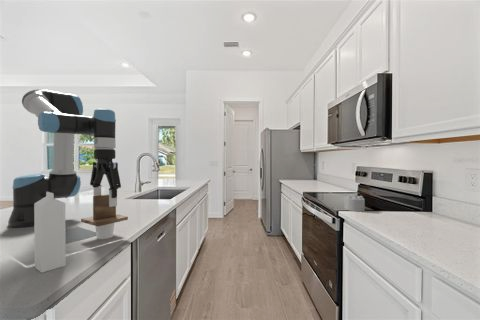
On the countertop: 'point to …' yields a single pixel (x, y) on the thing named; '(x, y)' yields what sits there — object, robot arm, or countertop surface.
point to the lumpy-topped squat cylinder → (355, 203)
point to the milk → (49, 233)
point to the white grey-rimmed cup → (105, 231)
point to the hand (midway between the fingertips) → (105, 204)
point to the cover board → (104, 221)
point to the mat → (78, 234)
